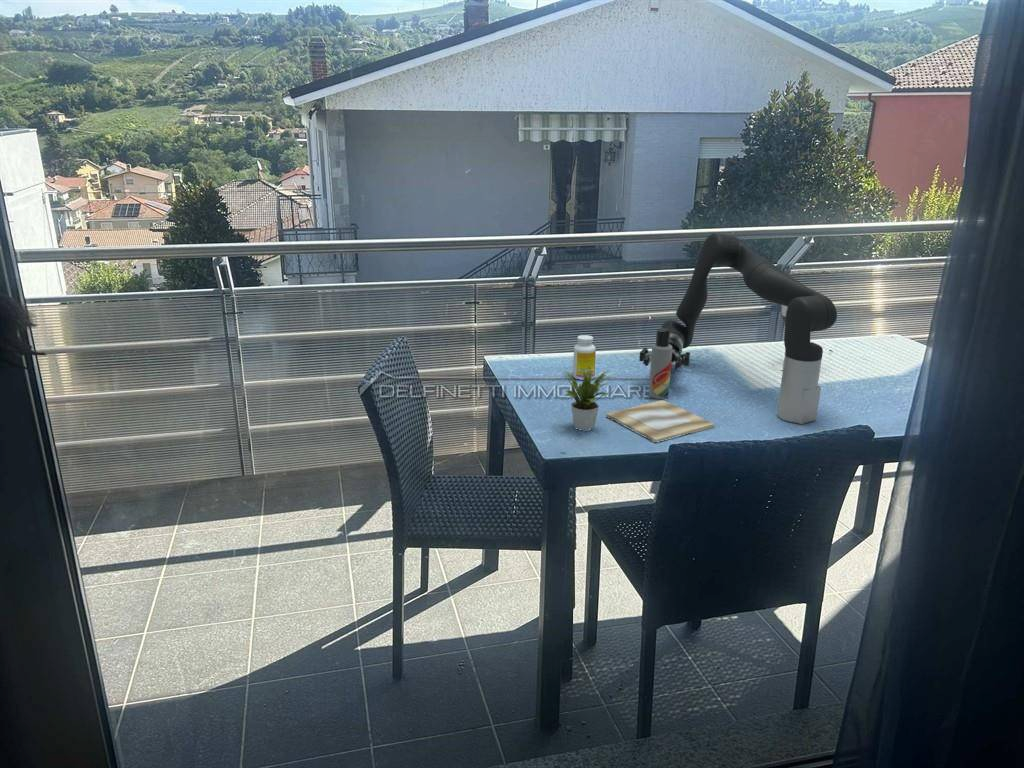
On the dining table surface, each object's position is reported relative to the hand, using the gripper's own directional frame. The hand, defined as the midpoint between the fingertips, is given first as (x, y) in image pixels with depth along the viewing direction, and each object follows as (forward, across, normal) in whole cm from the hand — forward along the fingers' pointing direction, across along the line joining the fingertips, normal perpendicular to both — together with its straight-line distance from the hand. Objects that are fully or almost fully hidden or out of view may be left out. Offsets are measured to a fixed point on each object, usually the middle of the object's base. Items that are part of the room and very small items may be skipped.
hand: (661, 364), depth 224 cm
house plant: (+31, -14, +10) cm, 35 cm away
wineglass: (-39, +35, +10) cm, 53 cm away
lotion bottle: (0, 0, +10) cm, 10 cm away
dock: (+20, +3, +10) cm, 22 cm away
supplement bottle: (-8, -24, +10) cm, 27 cm away
